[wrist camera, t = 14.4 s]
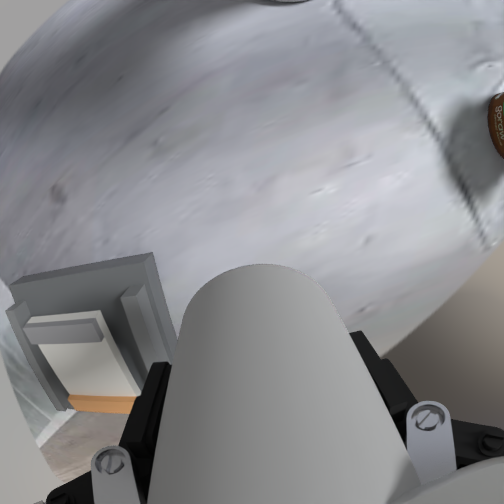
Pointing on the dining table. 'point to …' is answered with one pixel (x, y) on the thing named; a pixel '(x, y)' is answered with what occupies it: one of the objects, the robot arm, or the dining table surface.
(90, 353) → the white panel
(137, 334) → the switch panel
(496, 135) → the food container
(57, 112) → the dining table surface
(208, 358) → the beverage can
